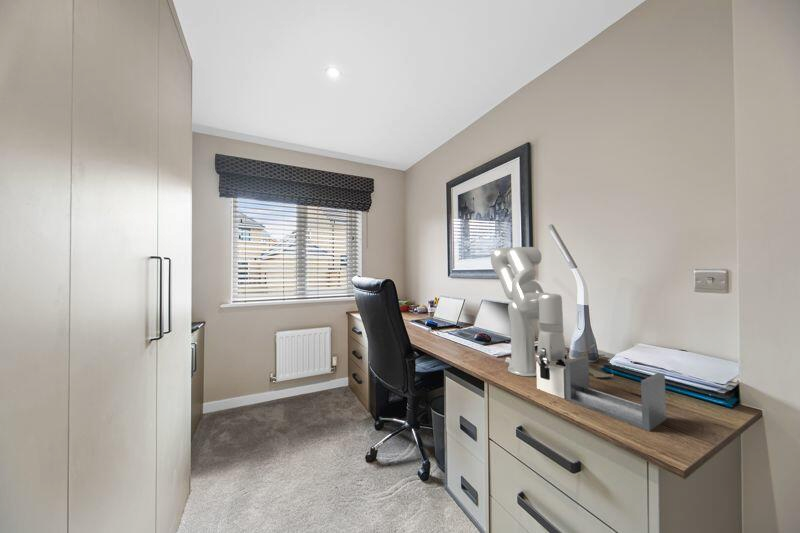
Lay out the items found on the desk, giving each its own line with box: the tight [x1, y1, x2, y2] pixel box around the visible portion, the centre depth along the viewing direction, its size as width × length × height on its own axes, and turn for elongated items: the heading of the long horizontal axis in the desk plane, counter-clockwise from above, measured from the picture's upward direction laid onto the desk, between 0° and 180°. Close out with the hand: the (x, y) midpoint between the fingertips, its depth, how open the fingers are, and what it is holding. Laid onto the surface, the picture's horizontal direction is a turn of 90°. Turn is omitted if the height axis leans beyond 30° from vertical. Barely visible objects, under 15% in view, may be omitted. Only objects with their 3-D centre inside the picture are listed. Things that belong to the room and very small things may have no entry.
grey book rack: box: [564, 355, 667, 432], centre depth 88 cm, size 22×12×13 cm, turn 30°
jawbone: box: [580, 343, 615, 379], centre depth 121 cm, size 14×8×15 cm
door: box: [535, 361, 566, 400], centre depth 100 cm, size 10×3×10 cm, turn 30°
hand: (553, 376), depth 100 cm, fingers open, 9 cm apart
